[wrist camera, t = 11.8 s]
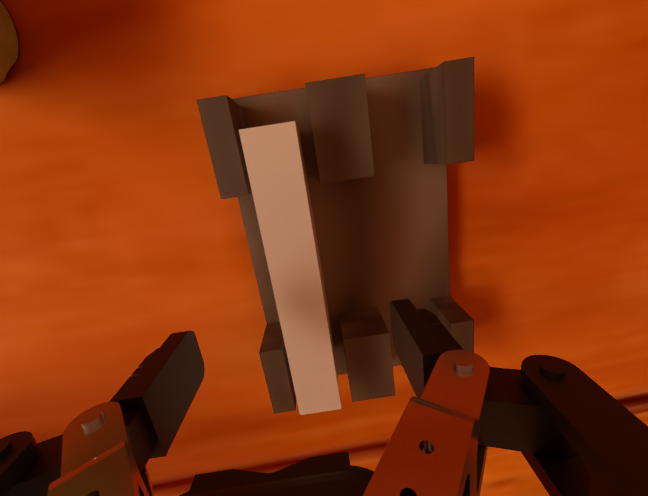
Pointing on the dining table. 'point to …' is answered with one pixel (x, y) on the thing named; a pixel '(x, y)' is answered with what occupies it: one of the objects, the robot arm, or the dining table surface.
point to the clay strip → (293, 260)
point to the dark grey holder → (360, 206)
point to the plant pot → (7, 43)
